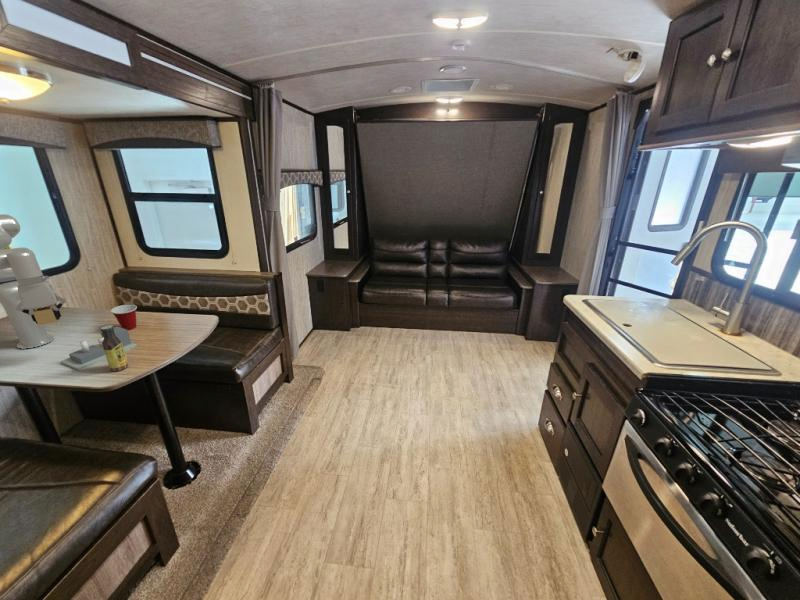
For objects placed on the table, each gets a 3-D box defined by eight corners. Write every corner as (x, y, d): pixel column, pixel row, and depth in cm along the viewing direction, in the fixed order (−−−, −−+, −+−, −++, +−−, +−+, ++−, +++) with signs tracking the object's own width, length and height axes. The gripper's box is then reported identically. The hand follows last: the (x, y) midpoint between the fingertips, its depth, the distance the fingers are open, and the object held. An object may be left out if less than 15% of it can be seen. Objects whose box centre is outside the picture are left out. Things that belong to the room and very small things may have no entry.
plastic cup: (125, 334, 171) (119, 313, 166) (112, 330, 174) (105, 310, 170) (147, 326, 180) (141, 306, 176) (134, 322, 184) (128, 302, 179)
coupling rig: (61, 363, 145) (54, 345, 142) (119, 340, 165) (114, 324, 161) (79, 370, 140) (72, 352, 137) (137, 346, 160) (132, 330, 156)
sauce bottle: (125, 371, 141) (111, 330, 133) (108, 373, 139) (92, 331, 132) (132, 362, 146) (118, 323, 139) (115, 364, 145) (101, 324, 137)
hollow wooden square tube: (40, 320, 141) (35, 308, 138) (58, 317, 144) (53, 305, 142) (38, 325, 137) (32, 312, 134) (57, 321, 140) (51, 308, 138)
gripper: (61, 274, 141) (76, 312, 148) (2, 282, 131) (21, 323, 138) (59, 279, 136) (74, 318, 142) (-3, 287, 126) (17, 329, 132)
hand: (48, 320), depth 140 cm, fingers closed on hollow wooden square tube, 5 cm apart
